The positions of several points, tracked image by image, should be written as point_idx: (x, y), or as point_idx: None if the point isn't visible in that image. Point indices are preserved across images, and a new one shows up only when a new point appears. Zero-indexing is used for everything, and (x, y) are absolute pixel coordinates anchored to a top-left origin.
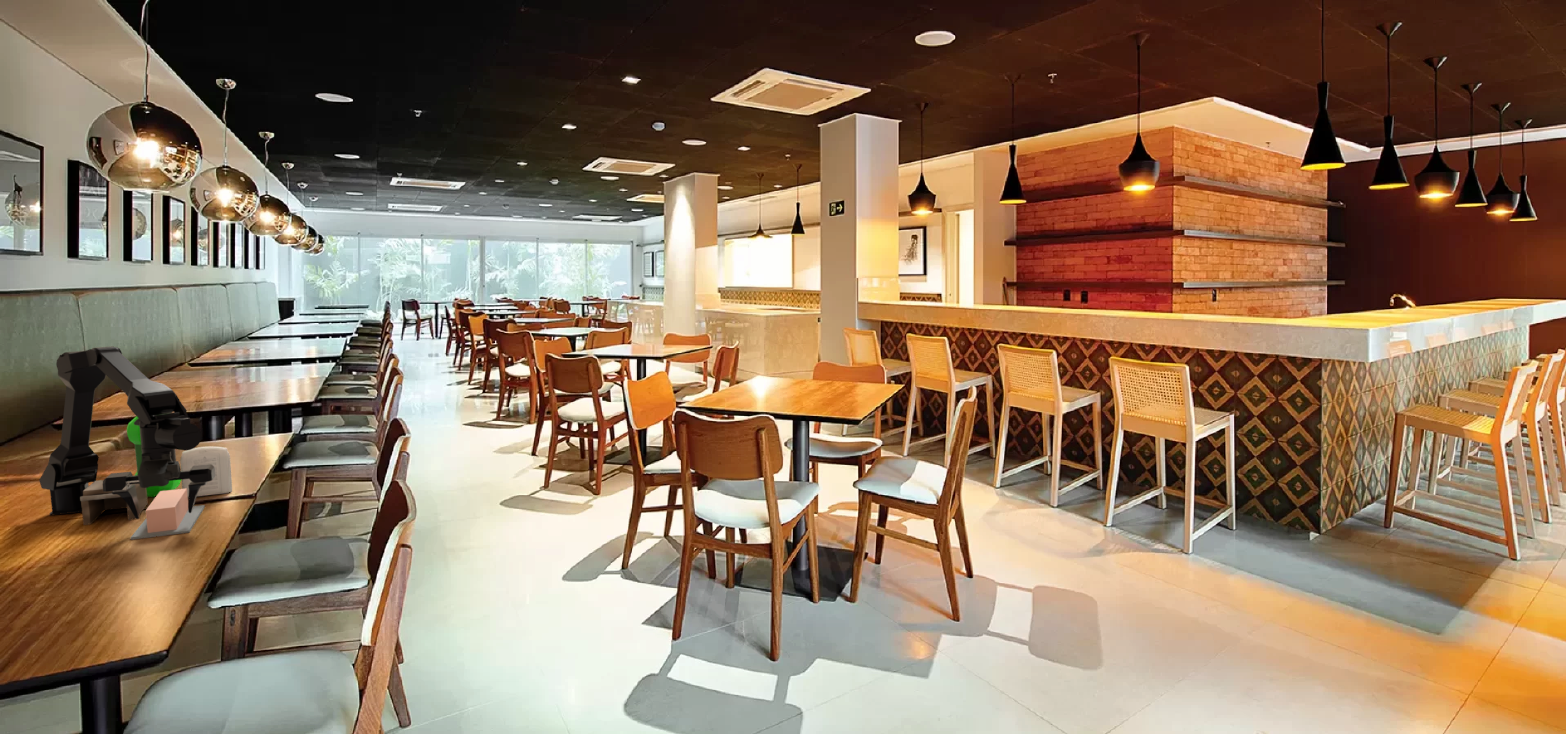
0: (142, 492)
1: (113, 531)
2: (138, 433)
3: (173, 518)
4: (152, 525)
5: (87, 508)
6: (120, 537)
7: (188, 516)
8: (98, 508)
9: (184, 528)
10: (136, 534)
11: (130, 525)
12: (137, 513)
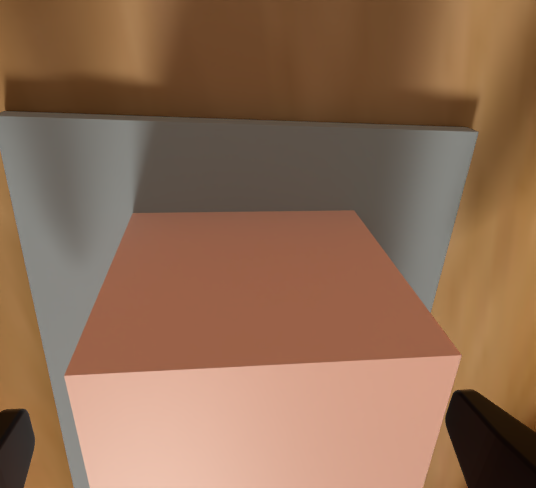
0: None
1: (529, 392)
2: None
3: (134, 270)
4: (331, 241)
5: None
6: (517, 239)
7: None
8: None
9: (66, 205)
10: (431, 207)
11: (441, 466)
12: (490, 429)
